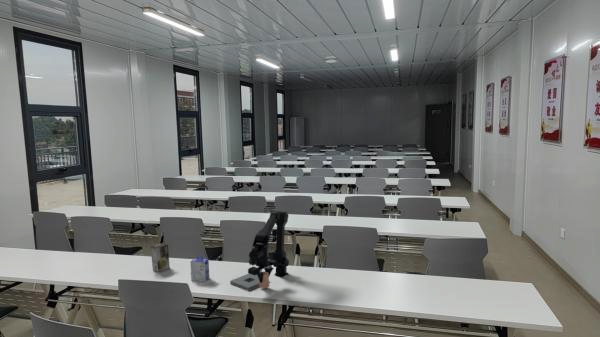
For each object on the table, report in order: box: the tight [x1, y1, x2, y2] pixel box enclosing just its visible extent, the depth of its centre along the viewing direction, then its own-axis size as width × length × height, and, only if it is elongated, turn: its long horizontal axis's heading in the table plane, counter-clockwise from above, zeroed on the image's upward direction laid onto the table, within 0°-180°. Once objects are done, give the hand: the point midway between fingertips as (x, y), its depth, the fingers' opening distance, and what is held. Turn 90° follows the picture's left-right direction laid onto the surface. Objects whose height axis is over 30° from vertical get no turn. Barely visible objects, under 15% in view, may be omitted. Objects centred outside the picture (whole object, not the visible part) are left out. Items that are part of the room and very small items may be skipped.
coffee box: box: [150, 242, 171, 273], centre depth 257 cm, size 9×6×16 cm
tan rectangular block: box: [258, 270, 270, 290], centre depth 223 cm, size 4×4×8 cm
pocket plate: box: [229, 273, 259, 292], centre depth 232 cm, size 16×16×2 cm
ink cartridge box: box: [189, 255, 210, 282], centre depth 238 cm, size 10×6×14 cm, turn 78°
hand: (263, 281), depth 223 cm, fingers closed on tan rectangular block, 4 cm apart
